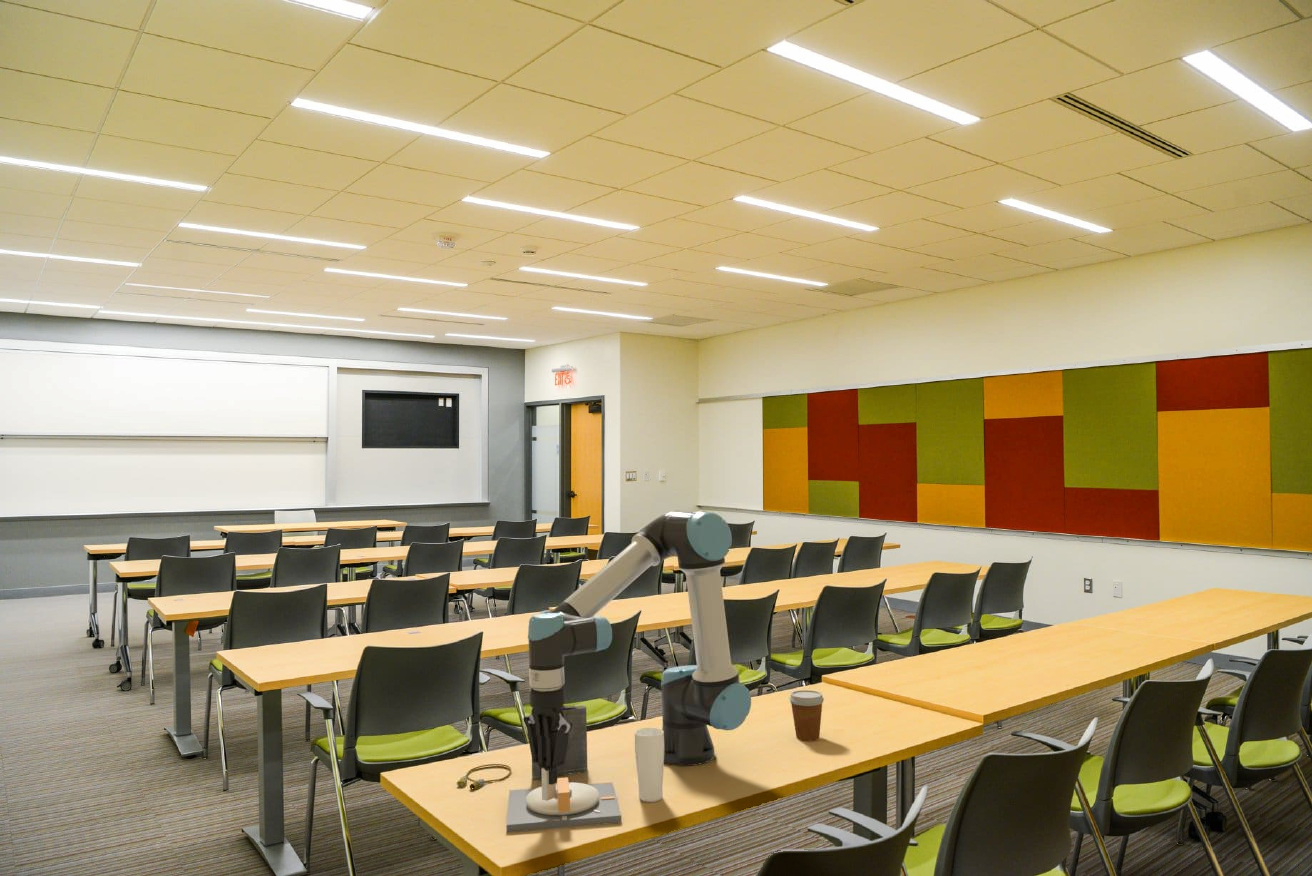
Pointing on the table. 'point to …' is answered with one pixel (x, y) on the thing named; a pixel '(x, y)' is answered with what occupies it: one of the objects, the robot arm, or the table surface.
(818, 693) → the disposable coffee cup
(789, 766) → the table surface
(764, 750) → the table surface
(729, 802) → the table surface
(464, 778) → the extension cord
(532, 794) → the dial
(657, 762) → the drinking glass
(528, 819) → the dial housing
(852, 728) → the table surface
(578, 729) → the flask
